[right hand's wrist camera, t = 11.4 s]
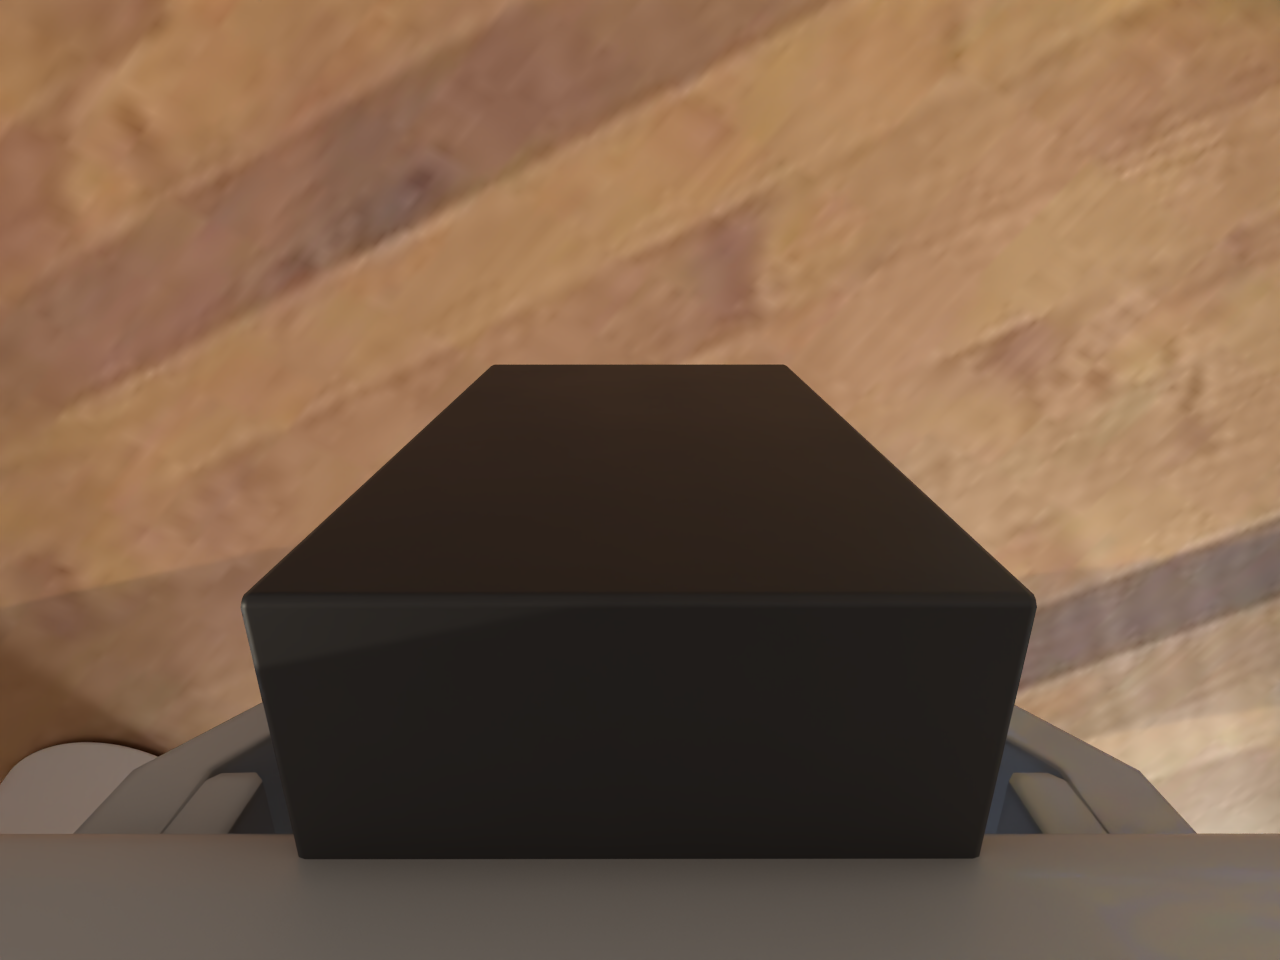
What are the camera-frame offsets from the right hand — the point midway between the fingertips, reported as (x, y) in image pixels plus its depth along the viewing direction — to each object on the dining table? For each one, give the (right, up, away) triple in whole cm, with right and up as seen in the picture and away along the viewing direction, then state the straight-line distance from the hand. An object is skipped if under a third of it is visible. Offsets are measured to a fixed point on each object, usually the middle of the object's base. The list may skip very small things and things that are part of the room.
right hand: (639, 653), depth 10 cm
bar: (0, -8, +6) cm, 10 cm away
